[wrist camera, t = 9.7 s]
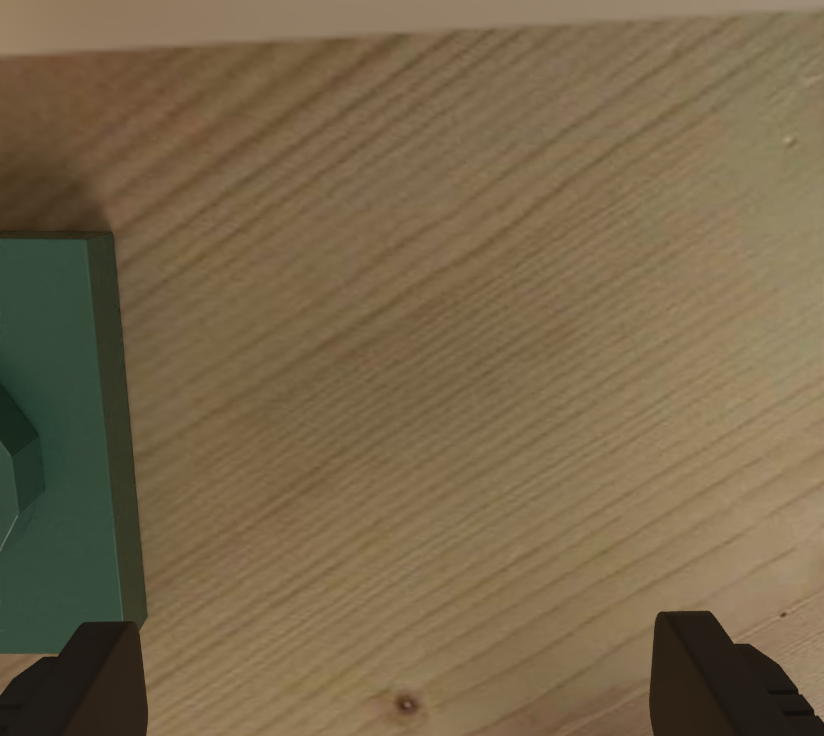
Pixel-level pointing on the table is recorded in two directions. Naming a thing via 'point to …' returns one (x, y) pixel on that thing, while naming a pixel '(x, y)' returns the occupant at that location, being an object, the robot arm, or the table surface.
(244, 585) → the table surface
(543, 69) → the table surface
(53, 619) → the control box
